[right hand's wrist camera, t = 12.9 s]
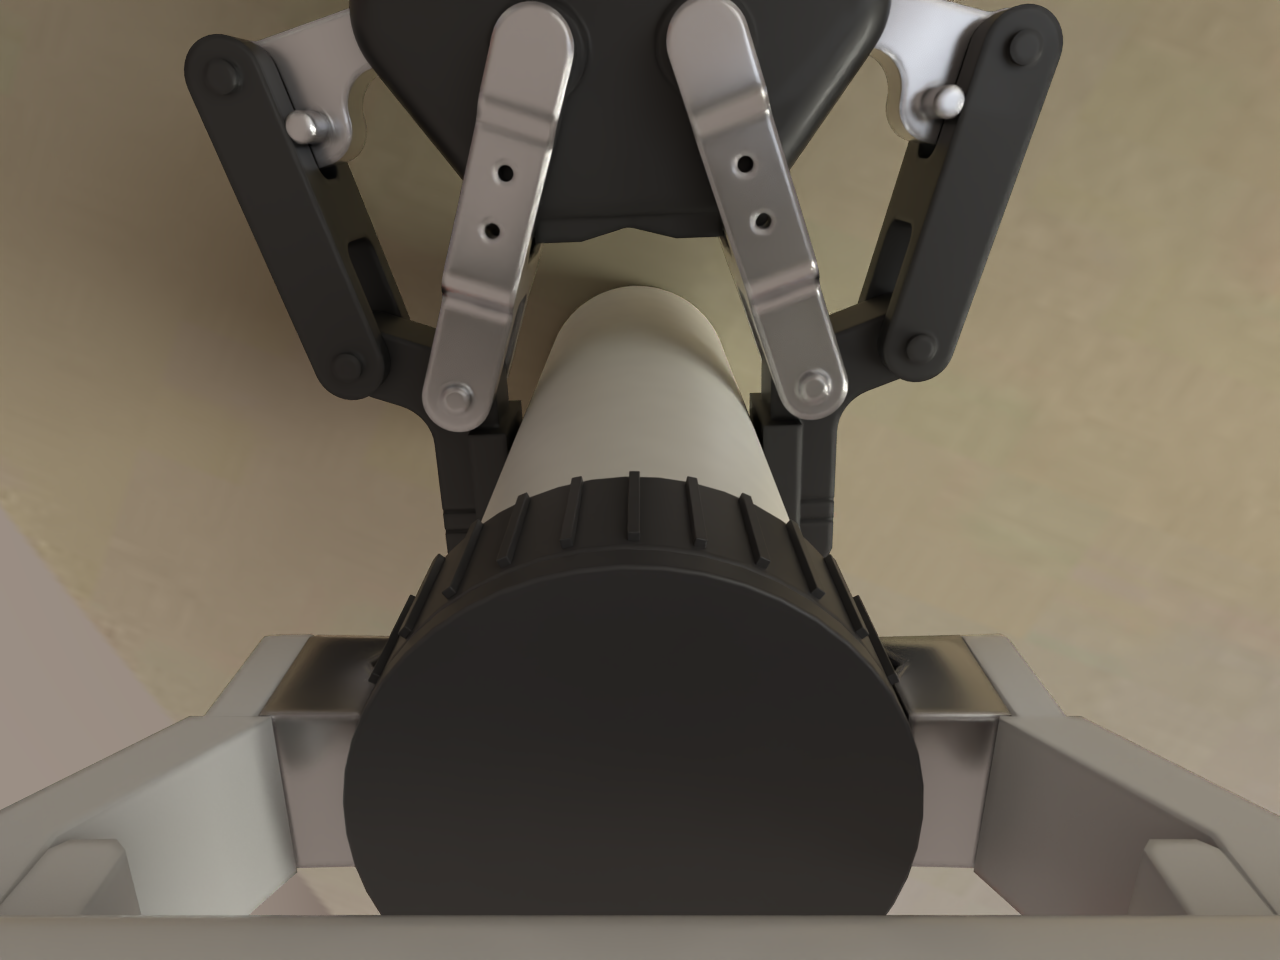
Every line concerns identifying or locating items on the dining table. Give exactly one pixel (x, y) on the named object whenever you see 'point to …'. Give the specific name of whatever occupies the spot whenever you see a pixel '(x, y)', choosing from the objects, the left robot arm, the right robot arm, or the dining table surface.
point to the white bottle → (637, 405)
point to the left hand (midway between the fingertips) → (643, 583)
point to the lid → (633, 720)
